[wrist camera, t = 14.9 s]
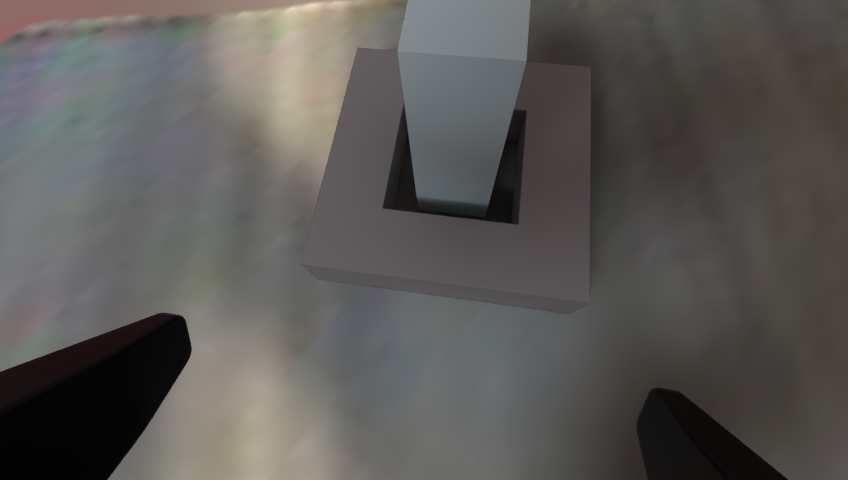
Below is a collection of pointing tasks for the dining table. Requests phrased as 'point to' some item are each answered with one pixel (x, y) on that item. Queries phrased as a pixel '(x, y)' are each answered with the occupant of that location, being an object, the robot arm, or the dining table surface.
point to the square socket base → (451, 236)
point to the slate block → (460, 95)
